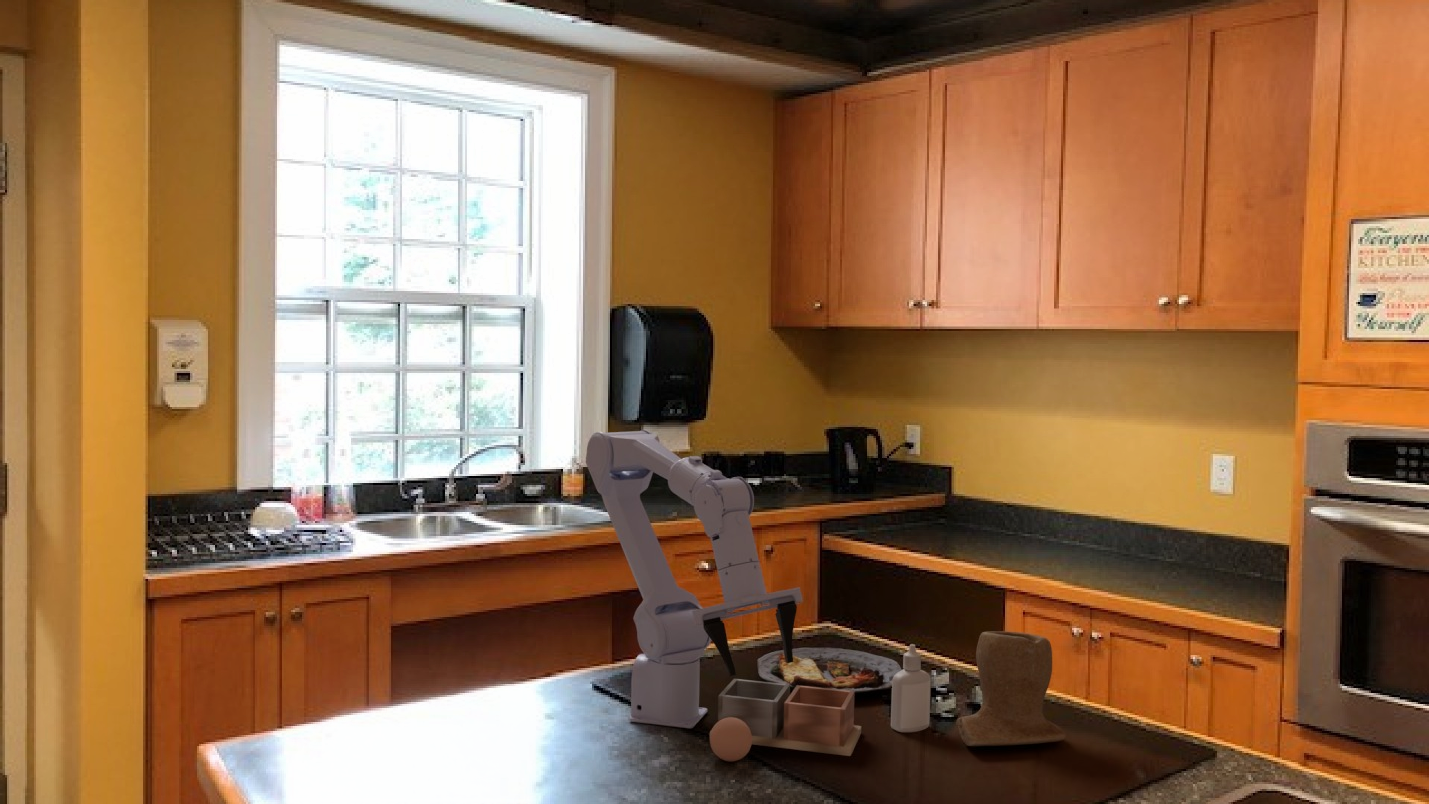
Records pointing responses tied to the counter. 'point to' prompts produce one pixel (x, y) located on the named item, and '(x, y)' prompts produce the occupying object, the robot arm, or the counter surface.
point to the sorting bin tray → (793, 715)
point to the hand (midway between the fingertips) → (761, 669)
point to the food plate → (829, 669)
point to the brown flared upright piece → (1011, 692)
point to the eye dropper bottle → (910, 695)
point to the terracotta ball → (730, 739)
